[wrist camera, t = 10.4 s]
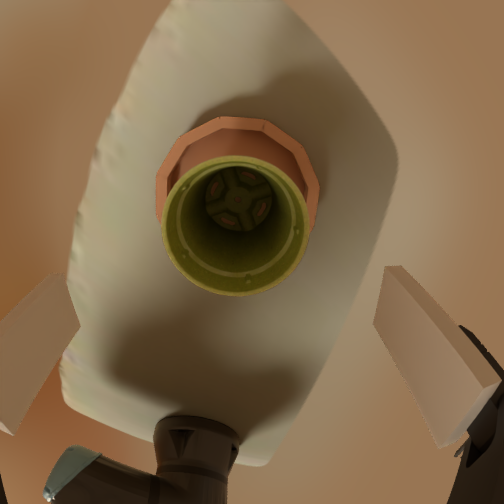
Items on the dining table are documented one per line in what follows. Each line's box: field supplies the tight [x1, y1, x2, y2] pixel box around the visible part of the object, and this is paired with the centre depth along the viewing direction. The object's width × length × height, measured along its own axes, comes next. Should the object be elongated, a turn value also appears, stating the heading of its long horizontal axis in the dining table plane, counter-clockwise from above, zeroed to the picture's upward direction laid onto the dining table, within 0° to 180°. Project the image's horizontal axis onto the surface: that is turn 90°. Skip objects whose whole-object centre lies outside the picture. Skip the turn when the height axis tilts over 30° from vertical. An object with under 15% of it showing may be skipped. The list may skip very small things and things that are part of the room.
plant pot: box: [161, 155, 310, 296], centre depth 22 cm, size 9×9×9 cm
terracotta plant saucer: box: [156, 116, 320, 233], centre depth 26 cm, size 14×14×2 cm
